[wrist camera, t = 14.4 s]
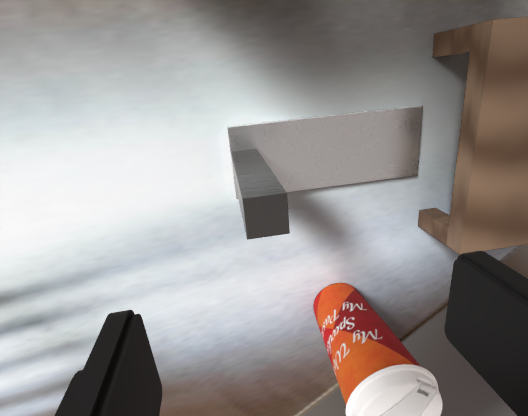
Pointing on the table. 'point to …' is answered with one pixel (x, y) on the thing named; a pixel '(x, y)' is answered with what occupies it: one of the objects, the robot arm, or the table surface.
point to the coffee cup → (372, 359)
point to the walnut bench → (488, 140)
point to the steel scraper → (317, 158)
